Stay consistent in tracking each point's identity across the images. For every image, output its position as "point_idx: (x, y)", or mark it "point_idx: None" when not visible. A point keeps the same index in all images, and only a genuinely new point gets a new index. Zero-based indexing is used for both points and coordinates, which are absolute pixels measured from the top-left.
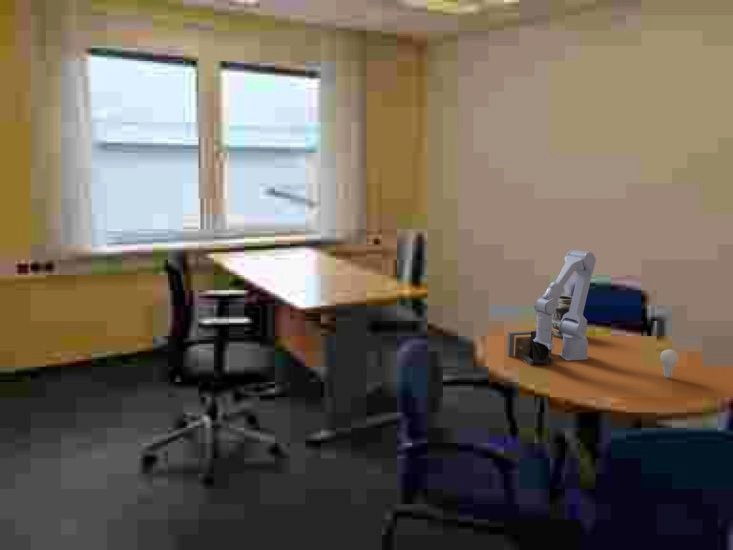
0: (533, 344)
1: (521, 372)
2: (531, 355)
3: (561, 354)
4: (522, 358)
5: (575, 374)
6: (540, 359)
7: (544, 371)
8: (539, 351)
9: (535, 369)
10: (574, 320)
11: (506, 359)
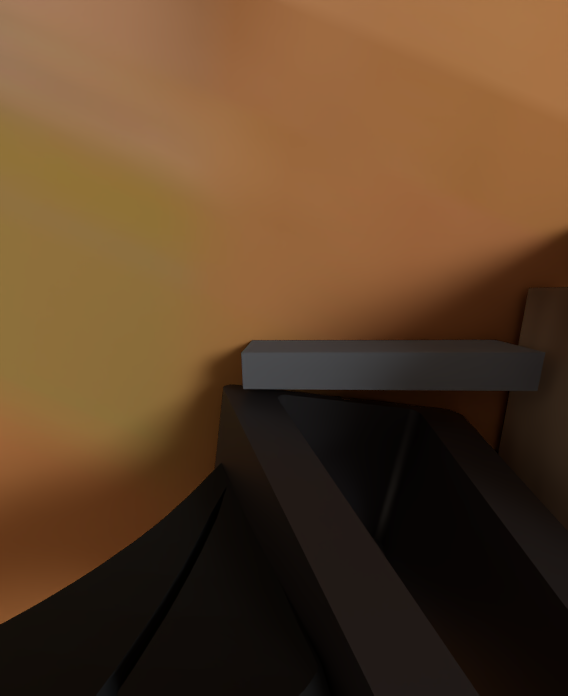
0: (351, 669)
1: (56, 159)
2: (428, 444)
3: None
4: (461, 341)
5: (26, 584)
6: (214, 471)
7: (87, 403)
8: (133, 560)
9: (141, 346)
10: None
11: (515, 141)
